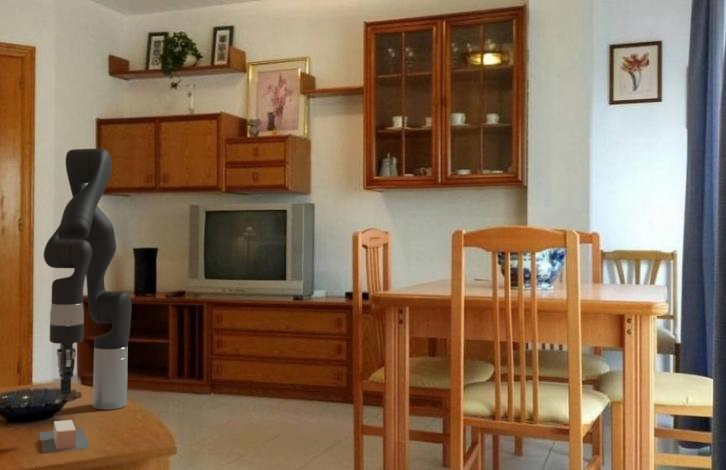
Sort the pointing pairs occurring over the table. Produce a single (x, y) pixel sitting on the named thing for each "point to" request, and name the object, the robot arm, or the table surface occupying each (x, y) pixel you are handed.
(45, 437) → the slate mat
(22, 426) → the table surface
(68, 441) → the cream block
